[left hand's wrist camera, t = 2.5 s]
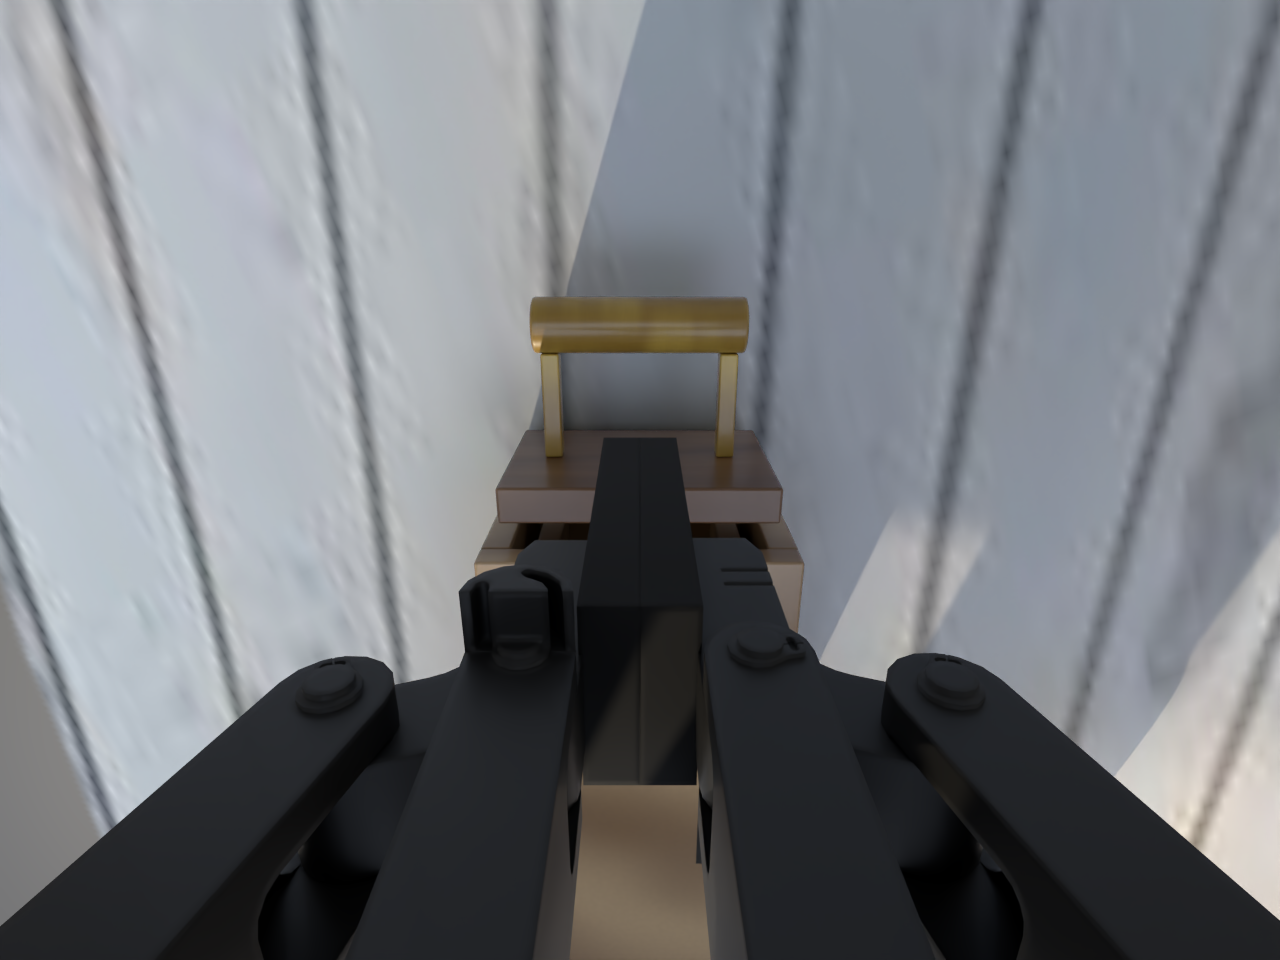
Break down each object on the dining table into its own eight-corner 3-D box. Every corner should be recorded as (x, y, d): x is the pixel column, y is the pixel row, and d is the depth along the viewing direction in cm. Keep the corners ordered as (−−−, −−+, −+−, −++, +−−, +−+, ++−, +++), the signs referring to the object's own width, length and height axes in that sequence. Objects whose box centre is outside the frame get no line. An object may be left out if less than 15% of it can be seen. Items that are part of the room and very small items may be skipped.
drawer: (516, 287, 25) (480, 310, 19) (762, 287, 25) (798, 310, 19) (548, 795, 33) (528, 915, 28) (730, 795, 33) (749, 915, 28)
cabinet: (517, 469, 28) (473, 562, 21) (761, 469, 28) (805, 562, 21) (541, 830, 35) (515, 996, 28) (737, 830, 35) (763, 997, 28)
